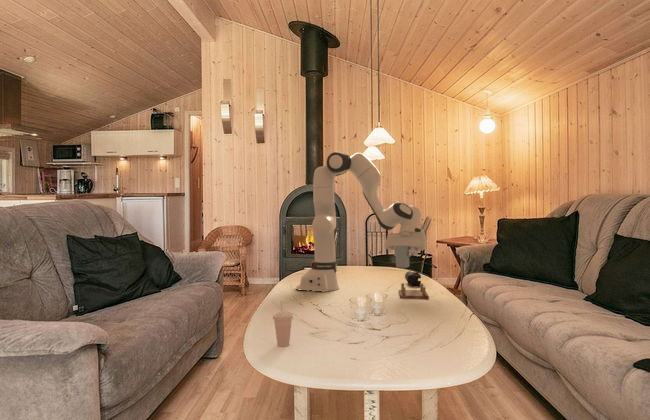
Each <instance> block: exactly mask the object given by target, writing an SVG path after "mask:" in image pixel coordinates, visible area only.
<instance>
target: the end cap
mask: <svg viewBox="0 0 650 420" xmlns="http://www.w3.org/2000/svg"><path fill="white" fill-rule="evenodd" d="M404 279H405V281H406V282H407V284H409V285H410V286H411V287H419V286H420V284H421V283H422V281H421V280H419V279H422V275H421V273H419V272H418V271H417V272H416V271H413V272H412V271H411V270H409V271H407V272H406V273H405V274H404ZM419 288H420V287H419Z"/></svg>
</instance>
